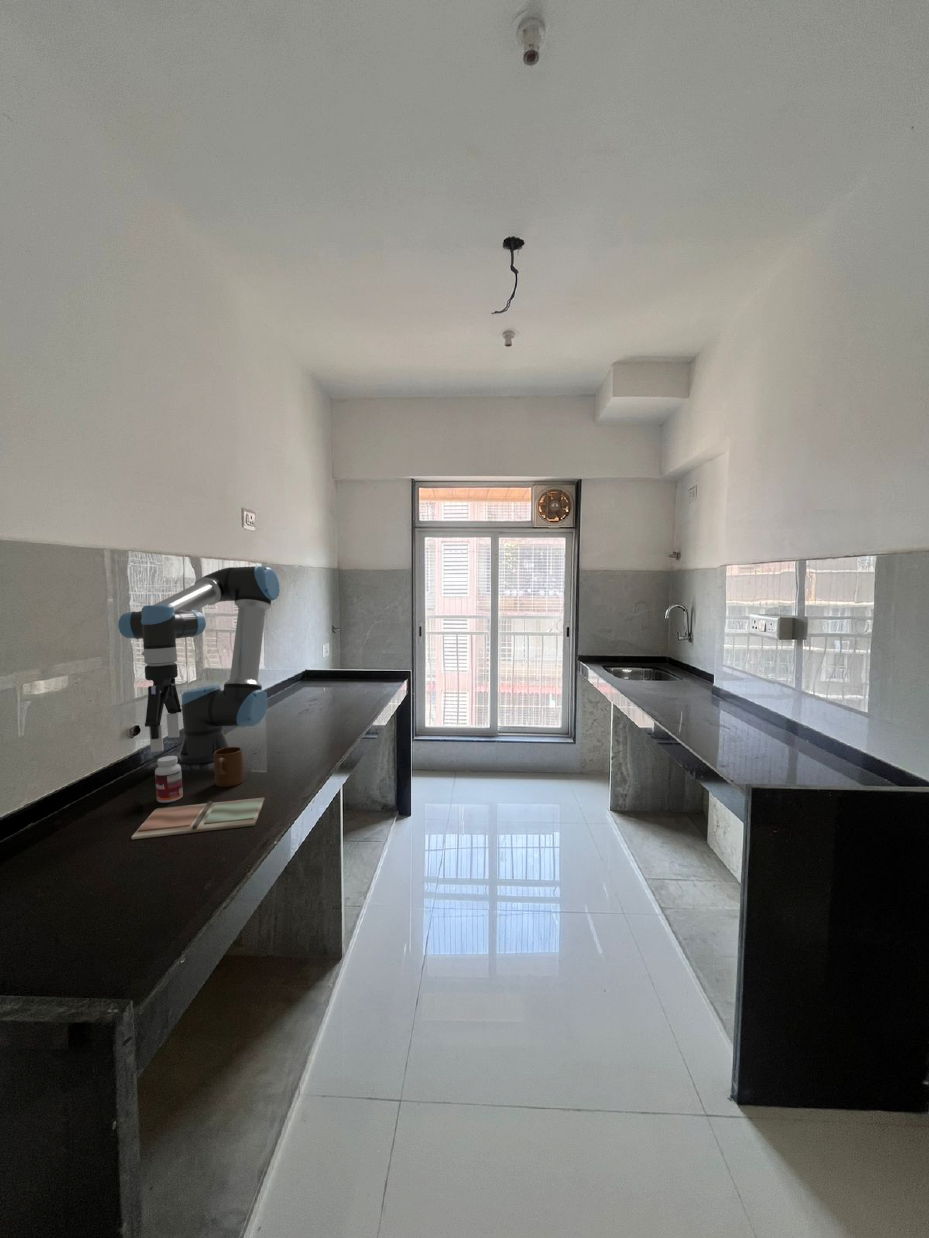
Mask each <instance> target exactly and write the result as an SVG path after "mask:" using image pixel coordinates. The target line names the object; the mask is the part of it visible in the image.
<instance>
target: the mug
mask: <svg viewBox="0 0 929 1238" xmlns="http://www.w3.org/2000/svg"><path fill="white" fill-rule="evenodd" d="M243 755H244V754H243V749H242V747H239V746H238V747H237V746H231V747H230V746H229V747H228V748H223V749H219V750H217V751H215V752H214V761H213V769H214V770H213V771H214V782H215V786H217V787H218V788H219V787H220V788H230V787H235V786H238V785H241V783H243V781H244V779H245V776H244V775H245V773H244V756H243Z"/></svg>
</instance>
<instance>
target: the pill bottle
mask: <svg viewBox="0 0 929 1238" xmlns="http://www.w3.org/2000/svg"><path fill="white" fill-rule="evenodd" d="M156 761H157V762H156V763H157V766H158V767H157V768H156V769H155V770H154V777H155V791H156V801H157V802H159V803H164V804H165V803H172V802H175V801H178V800H181V798H183V796H184V795H183V794H184V792H183V790H184V789H183V776H182V774H183V773H182V766H181V765H180V764H179V763H178V762H179V760H178V756H177V755H167V756H162V757H160V758H158V759H157V760H156Z"/></svg>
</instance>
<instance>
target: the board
mask: <svg viewBox="0 0 929 1238" xmlns="http://www.w3.org/2000/svg"><path fill="white" fill-rule="evenodd" d="M264 803H265V797H258V798H257V797H256V798H247V799H246V798H245V799H238V800H227V801H219V802H218V801H216V802H213V801H212V800H208V802H207V803H200V804H189V805H188V804H187V805H180V806H179V805H177V806H169V807H158V808H155V809H153V811H152V812H151V814H150V815H149V816H148V817H147V818H146V819H145V820H144V821H143V823H142V824H141V825H140V826H139V827H138V829H136V831H135V832H134V833H133V835H131V840H139V839H146V838H148V839H149V838H156V837H165V836H166V837H167V836H172V835H173V836H174V835H183V834H191V833H199V832H200V833H201V832H211V831H217V830H226V829H234V828H244V827H252V826H255V825H256V823H257V820H258V818H259V816H260V815H259V814H260V812H261V810H262V807H263V805H264Z"/></svg>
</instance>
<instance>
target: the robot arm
mask: <svg viewBox="0 0 929 1238" xmlns="http://www.w3.org/2000/svg"><path fill="white" fill-rule="evenodd" d="M280 589H281V588H280V581H279V579H278V577H277V574H276V572H275V571H274V570H273V568H271V567H270V566H266V565H265V566H262V565H261V566H260V565H255V566H236V567H235V566H230V567H224V568H221V569H218V570H216V571H213V572H211V573H209V574H206V575H204V576H202V577H199V578H198V579H197V580H196V581H195V582H194V584H193V585H190V586H189V587H187V588H185V589H183V590H181V591H179V592H177V593H175V594H173V595H171V596H168V597H167V598H165V599H163V600H160V601H159V602H157V603H155V604H152V605H151V604H147V605H144V606H143V607H142V608H141V610H139V611H129V612H127V611H126V612H125V613H122V615H121V616H120V617H119V619H118V623H117V625H118V626H117V628H118V630H119V633H120V634H121V636H123V637H124V638H126V639H135V640H140V639H142V641H143V643H142V644H143V645H142V646H143V651H142V652H141V655H142V656H143V659H144V664H145V666H144V678H145V680H146V681H151V682H153V683H152V685H149V686H148V687H147V695H148V696H147V704H146V713H145V714H146V715H145V722H144V727H146V728H148V731H149V742H150V743H149V745H150V752H151V753H153V752H164V739H163V736H164V735H163V724H161V722H162V717H163V711H164V707H165V709H166V711H167V714H166V724H167V726H166V727H167V738H168V739H170V738H171V739H172V738H179V737H180V723H179V720H180V719H179V713H182V724H183V739H182V743H181V746H180V750H179V754H178V757H179V763H182V764H186V765H187V764H189V765H198V764H206V763H207V764H208V763H213V762H214V752H215V751H217V750H219V749H223V748H228V747H230V745H229V742H228V740H227V738H226V736H225V733H224V731H223V727H239V728H246V727H254V726H256V725H258V724H260V723H261V721H262V720H263V719H264V717H265V715H266V713H267V710H268V706H269V705H268V703H269V702H268V701H269V700H268V695H267V692H265V691H264V690H263V689H262V688H263V686H262V684H261V683H260V681H259V672H260V666H261V665H260V663H261V655H262V654H261V653H262V646H263V636H264V629H265V628H264V626H265V617H266V611H267V610H269V609H270V608H271V607H272V606H271V605H272V601H275V600H276V599H278V597H279V596H280ZM219 602H222V603H223V602H233V603H234V605H235V606H236V607H237V609H238V611H237V617H236V626H235V627H236V628H235V634H234V644H233V650H232V652H233V653H232V659H231V667H230V676H229V679H228V680H227V681H226V682H224V684H223V690H222V688H221V685H218V684H214V685H208V686H201V687H197V688H193V689H190V690H186V691H185V692H183V693H182V695H181V703H180V698H179V694H178V690H177V686H176V678H177V677H178V676H179V673H178V672H179V671H178V664H177V663H175V662H177V661H178V654H177V652H178V651H177V644H176V643H177V641H176V640H177V639H184V638H194V637H197V636H199V635H201V634H203V632H204V631H205V629H206V626H207V625H206V624H207V621H206V617H205V616H204V614H202V613H201V612H200V611H199V610H200V609H202V608H204V607H205V606H212V605H216V604H218V603H219Z"/></svg>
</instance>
